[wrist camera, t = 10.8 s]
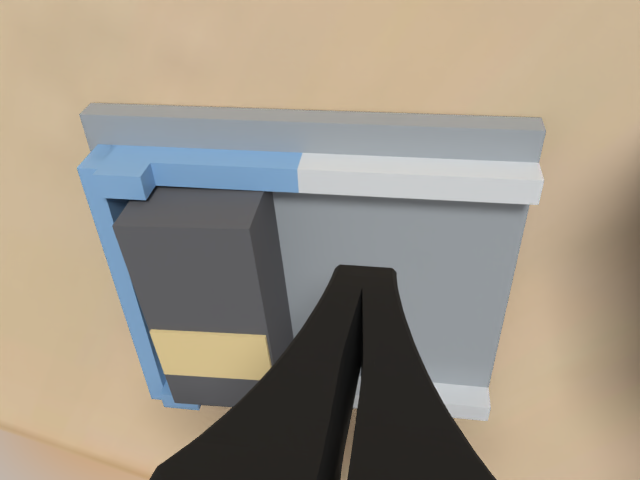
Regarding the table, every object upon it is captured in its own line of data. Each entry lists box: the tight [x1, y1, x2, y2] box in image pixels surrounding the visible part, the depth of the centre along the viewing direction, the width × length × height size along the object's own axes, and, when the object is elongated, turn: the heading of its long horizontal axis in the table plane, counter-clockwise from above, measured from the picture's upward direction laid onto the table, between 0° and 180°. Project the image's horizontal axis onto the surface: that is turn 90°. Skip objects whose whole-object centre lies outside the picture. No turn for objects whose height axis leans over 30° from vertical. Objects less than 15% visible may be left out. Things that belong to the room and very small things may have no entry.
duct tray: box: [77, 103, 546, 421], centre depth 26 cm, size 17×16×3 cm
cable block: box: [112, 186, 294, 407], centre depth 25 cm, size 5×10×4 cm, turn 4°
